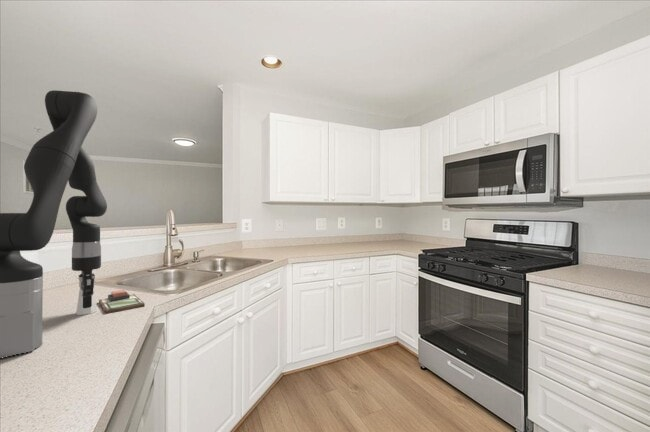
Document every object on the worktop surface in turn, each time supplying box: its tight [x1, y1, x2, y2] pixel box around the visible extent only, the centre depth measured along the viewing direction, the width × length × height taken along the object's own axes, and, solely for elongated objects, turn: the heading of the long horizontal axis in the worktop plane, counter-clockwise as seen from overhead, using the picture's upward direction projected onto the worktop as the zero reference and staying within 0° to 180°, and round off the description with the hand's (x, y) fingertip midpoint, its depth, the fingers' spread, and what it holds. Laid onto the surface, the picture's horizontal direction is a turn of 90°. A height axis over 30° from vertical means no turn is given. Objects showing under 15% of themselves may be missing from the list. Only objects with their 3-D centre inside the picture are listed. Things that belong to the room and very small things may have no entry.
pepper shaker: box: [75, 287, 97, 316], centre depth 94 cm, size 5×5×11 cm
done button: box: [111, 289, 127, 297], centre depth 106 cm, size 4×4×2 cm
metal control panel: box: [98, 291, 146, 315], centre depth 103 cm, size 17×11×2 cm, turn 45°
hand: (86, 305), depth 94 cm, fingers closed on pepper shaker, 3 cm apart
